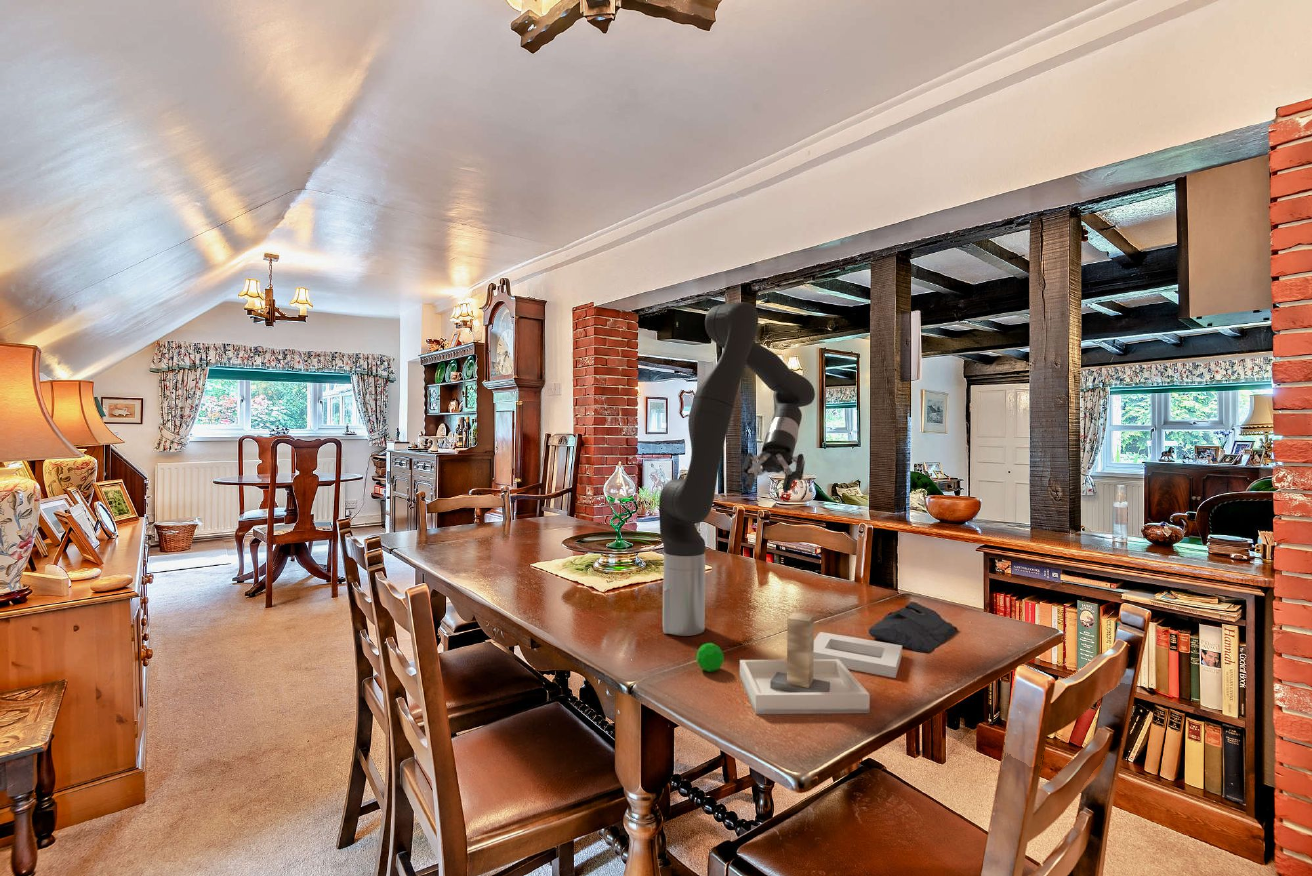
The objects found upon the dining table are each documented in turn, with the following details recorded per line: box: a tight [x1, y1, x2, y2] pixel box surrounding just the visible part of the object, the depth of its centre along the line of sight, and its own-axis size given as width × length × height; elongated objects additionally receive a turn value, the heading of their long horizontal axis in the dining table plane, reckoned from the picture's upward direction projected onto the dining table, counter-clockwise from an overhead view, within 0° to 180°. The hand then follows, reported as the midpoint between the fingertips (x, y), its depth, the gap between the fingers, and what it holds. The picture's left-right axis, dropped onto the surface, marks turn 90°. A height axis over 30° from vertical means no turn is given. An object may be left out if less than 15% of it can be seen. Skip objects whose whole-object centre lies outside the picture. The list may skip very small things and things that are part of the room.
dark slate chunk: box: [868, 601, 959, 654], centre depth 129 cm, size 15×22×5 cm
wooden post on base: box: [770, 611, 830, 693], centre depth 99 cm, size 9×4×12 cm, turn 63°
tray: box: [739, 659, 871, 715], centre depth 99 cm, size 18×14×3 cm
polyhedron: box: [695, 642, 725, 673], centre depth 108 cm, size 5×5×5 cm
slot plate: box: [814, 631, 903, 679], centre depth 114 cm, size 16×12×2 cm
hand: (766, 489), depth 135 cm, fingers open, 8 cm apart
